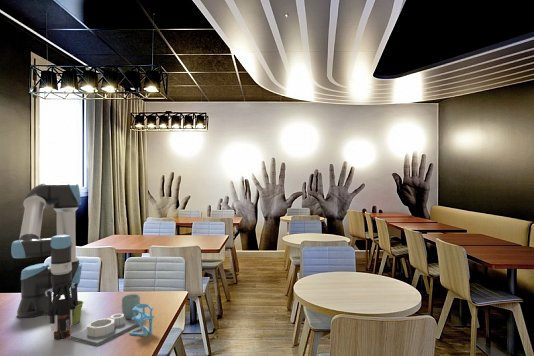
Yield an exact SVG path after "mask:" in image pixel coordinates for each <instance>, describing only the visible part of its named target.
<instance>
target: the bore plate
mask: <svg viewBox="0 0 534 356" xmlns="http://www.w3.org/2000/svg"><path fill="white" fill-rule="evenodd" d="M138 326H140V325H139V324H138V323H137V322H136V321H134V320H131V319H125V318H124V314H123V313H115V314H112V315H110V317H106V318H105V317H104V318H98V319H95V320H93V321H90V322H88V323H87V327H86V328H85V329H84V330H81V331H79V332H77V333H74V334H72V335H70V337H69V339H70V340H73V341H77V342H81V343H85V344H89V345H93V346H97V347H98V346H100V345H102V344H105V343H107V342H108V341H111V340H112V339H114V338H116V337H118V336H120V335H122V334H125V333H127V332H128V331H130V330H132V329H134V328H136V327H138Z"/></svg>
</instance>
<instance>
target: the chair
mask: <svg viewBox="0 0 534 356" xmlns="http://www.w3.org/2000/svg"><path fill="white" fill-rule="evenodd" d="M145 308H149V311H150V312H149V313H146V312H145ZM141 309H142V310H141ZM153 310H154V307H152V306H151V305H150V304H147V303H140V304H138V305H137V306H135V307H134V308H133V309H132V311H133V313H134V316H133V317H132V318H131V319H130V320H131V321H135V322H137V323H138V324H139V325H138V326H139V328H136V329H134V330H132V331H129V333H128V335H129V336H138V337H146V338H147V337H148V334H149V335H152V334H153V319H154V318H155V316H154V315H153V314H152V313H153ZM135 311H137V312H139V314H138V316H136V314H135ZM146 321H148V327H147V326H145V325H143V323H145V322H146ZM140 331H142V332H140Z"/></svg>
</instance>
